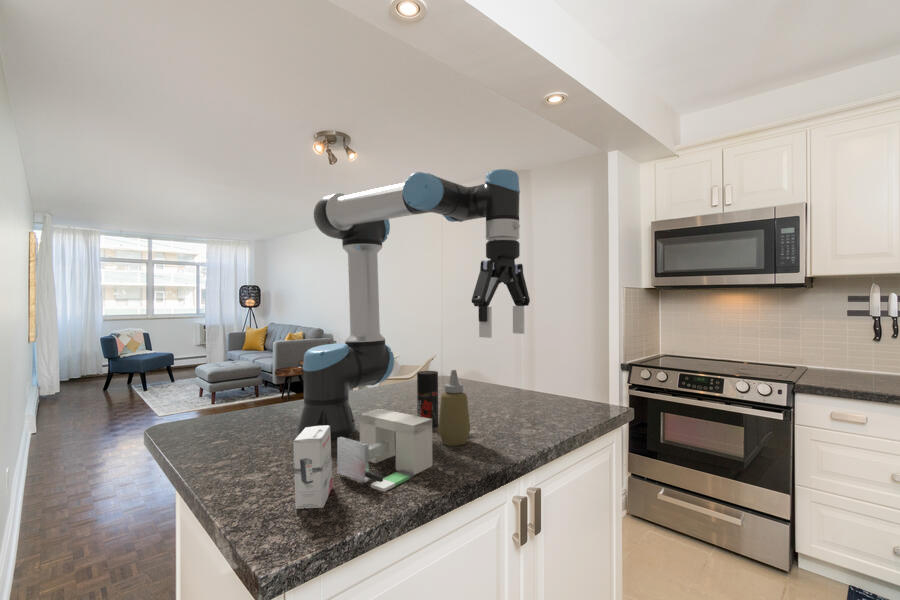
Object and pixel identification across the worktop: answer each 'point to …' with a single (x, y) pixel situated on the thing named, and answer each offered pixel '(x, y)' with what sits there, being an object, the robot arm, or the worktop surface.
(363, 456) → the grey bar with plate
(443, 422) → the squeeze bottle
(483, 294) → the robot arm
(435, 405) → the deodorant
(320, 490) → the ink box
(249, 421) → the worktop surface
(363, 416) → the white and green frame
